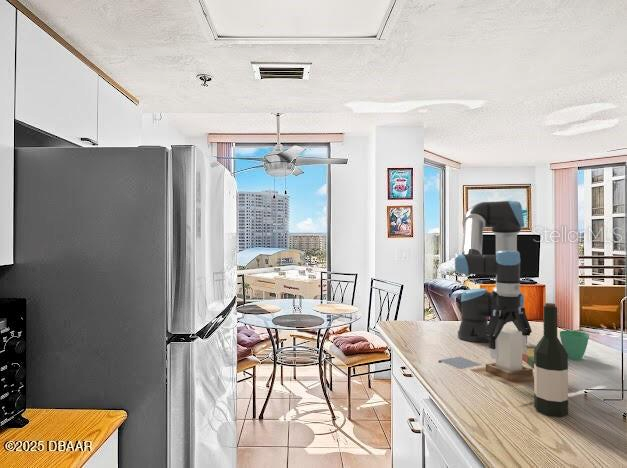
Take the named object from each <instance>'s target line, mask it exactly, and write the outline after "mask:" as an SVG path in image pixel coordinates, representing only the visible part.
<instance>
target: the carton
mask: <svg viewBox="0 0 627 468" xmlns="http://www.w3.org/2000/svg"><path fill="white" fill-rule="evenodd" d="M522 362H525V363H526V364H527V365H528V366H530V368H531V369H534V348H527V354H522Z"/></svg>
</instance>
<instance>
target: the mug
mask: <svg viewBox="0 0 627 468" xmlns="http://www.w3.org/2000/svg"><path fill="white" fill-rule="evenodd" d="M589 336H590V334H588V333H586V332H585V331H584V332H583V331H580V330H579V331H578V330H577V331H576V330H573V329H568V330H560V331H559V337H560V342H561V344H562V346H563V347H564V349H565V350H566V352H567V354H568V360H572V361H582V360H583V357H584V356H585V353H586V350H587V347H588V343H589V339H590V337H589Z"/></svg>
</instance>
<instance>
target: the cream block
mask: <svg viewBox="0 0 627 468" xmlns="http://www.w3.org/2000/svg"><path fill="white" fill-rule="evenodd" d="M497 340H498V353H499V359H495V363H496V367H498V368H501V369H503V370H506V371H509V372H513V371H518V370H522V366H523V360H522V332H521V331H518V329H517V330H516V329H512V328H509V327H506V328H502V330H501V332H500V333H499V335H498V337H497Z"/></svg>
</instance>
